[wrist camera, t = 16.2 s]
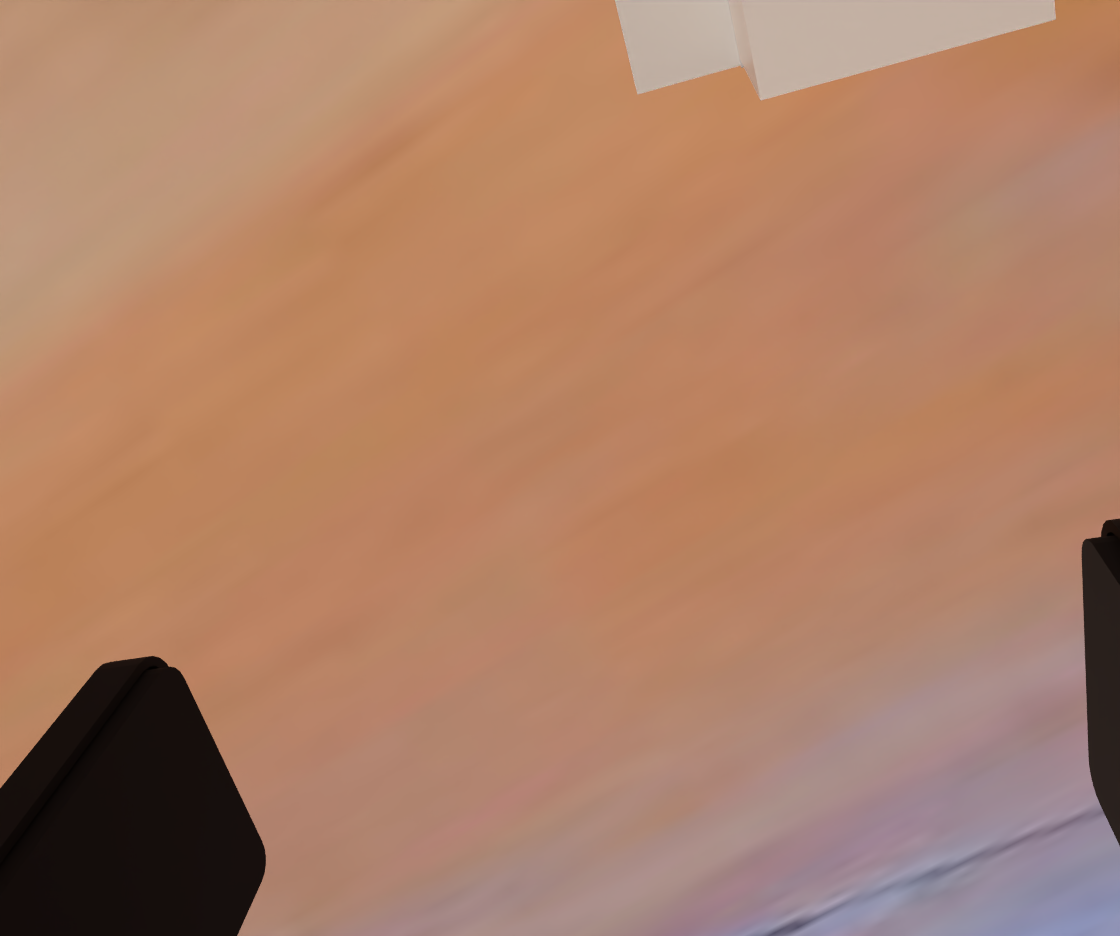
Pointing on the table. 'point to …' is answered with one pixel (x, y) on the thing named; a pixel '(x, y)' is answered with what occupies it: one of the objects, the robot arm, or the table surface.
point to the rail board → (674, 40)
